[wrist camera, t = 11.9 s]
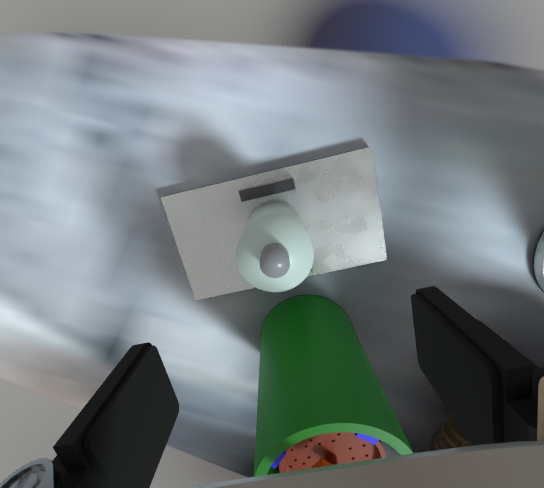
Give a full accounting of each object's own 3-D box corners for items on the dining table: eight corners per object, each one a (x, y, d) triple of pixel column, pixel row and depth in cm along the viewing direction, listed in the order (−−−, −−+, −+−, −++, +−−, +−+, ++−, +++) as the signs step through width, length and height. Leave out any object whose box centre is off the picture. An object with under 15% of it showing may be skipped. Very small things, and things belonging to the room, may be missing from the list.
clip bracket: (368, 146, 27) (376, 145, 25) (383, 256, 30) (391, 264, 28) (164, 196, 28) (155, 199, 26) (197, 296, 31) (192, 306, 29)
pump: (296, 195, 27) (307, 214, 18) (308, 250, 29) (323, 292, 20) (240, 209, 28) (223, 233, 18) (254, 262, 29) (244, 308, 20)
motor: (312, 382, 34) (359, 664, 15) (245, 350, 33) (205, 611, 14) (360, 315, 32) (490, 553, 13) (290, 278, 31) (315, 478, 12)
